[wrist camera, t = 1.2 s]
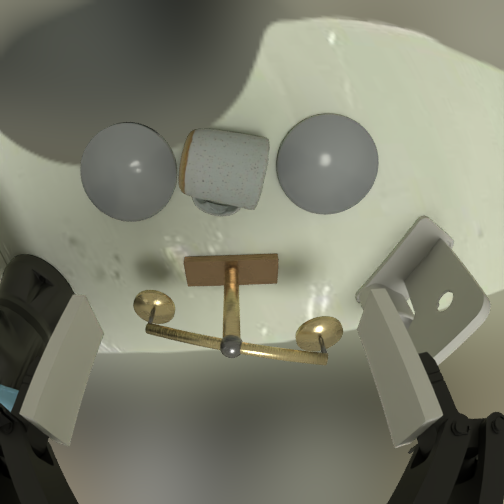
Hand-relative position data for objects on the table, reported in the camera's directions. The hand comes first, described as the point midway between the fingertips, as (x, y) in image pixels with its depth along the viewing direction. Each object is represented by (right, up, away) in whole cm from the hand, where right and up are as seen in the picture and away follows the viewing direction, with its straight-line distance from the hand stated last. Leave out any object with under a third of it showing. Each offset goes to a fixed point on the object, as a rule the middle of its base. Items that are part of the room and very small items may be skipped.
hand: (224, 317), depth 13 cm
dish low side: (-13, +12, +18) cm, 25 cm away
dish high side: (+10, +13, +19) cm, 25 cm away
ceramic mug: (-2, +12, +19) cm, 23 cm away
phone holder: (+25, 0, +29) cm, 38 cm away
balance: (-1, +1, +26) cm, 26 cm away
